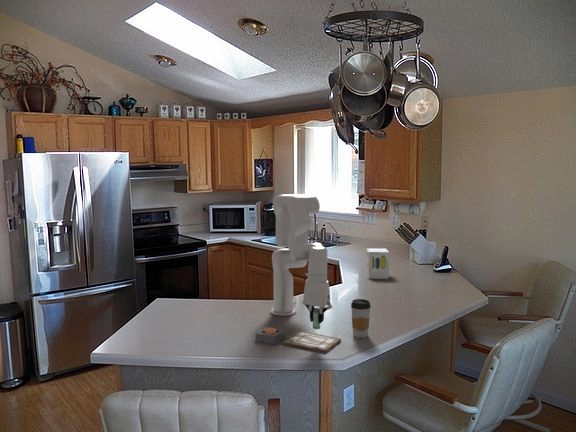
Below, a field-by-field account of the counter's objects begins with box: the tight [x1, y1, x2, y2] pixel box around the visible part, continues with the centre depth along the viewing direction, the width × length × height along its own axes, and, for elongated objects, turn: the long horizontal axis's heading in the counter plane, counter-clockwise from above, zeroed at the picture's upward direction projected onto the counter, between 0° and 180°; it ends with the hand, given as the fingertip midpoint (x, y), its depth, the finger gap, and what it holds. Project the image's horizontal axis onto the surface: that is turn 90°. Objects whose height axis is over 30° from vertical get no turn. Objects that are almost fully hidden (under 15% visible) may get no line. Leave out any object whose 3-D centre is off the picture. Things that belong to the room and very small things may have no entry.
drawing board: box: [282, 330, 342, 354], centre depth 203 cm, size 15×19×1 cm
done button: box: [264, 327, 276, 335], centre depth 206 cm, size 5×5×2 cm
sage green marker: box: [312, 307, 321, 330], centre depth 199 cm, size 3×3×8 cm
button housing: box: [255, 326, 286, 345], centre depth 206 cm, size 9×9×3 cm
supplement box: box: [365, 247, 390, 280], centre depth 320 cm, size 13×13×18 cm
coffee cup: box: [350, 298, 371, 339], centre depth 210 cm, size 8×8×15 cm
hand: (316, 321), depth 199 cm, fingers closed on sage green marker, 2 cm apart
